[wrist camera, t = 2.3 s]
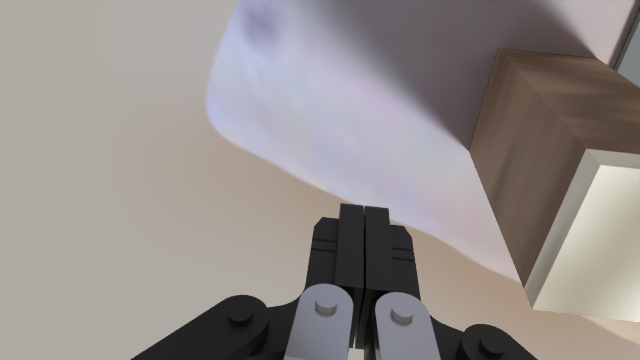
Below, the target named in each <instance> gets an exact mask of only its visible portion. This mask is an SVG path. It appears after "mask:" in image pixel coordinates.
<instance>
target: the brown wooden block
mask: <svg viewBox="0 0 640 360" xmlns="http://www.w3.org/2000/svg"><path fill="white" fill-rule="evenodd" d="M469 153H470V155H471V158H472V160H473V163H474V165H475V168H476V170H477V173H478V175H479V178H480V180H481V183H482V185H483V188H484V190H485V193H486V195H487V198H488V200H489V203H490V205H491V208H492V210H493V213H494V215H495V218H496V220H497V223H498V225H499V228H500V230H501V233H502V235H503V238H504V240H505V243H506V245H507V248H508V250H509V253H510V255H511V258H512V260H513V263H514V265H515V268H516V270H517V273H518V275H519V278H520V280H521V283H522V285H523V288H524V290H525V292H526V295H527V297H528V300H529V302H530V305H531V307H532V309H536V310H544V311H552V312H560V313H569V314H577V315H585V316H593V317H601V318H610V319H618V320H626V321H634V322H640V87H638V86H637V85H635V84H634V83H632V82H631V81H629V80H628V79H627V78H625V77H624V76H622V75H621V74H619V73H618V72H616V71H615V70H613V69H612V68H611V67H609V66H608V65H606V64H605V63H603V62H602V61H600V60H599V59H598V58H589V57H579V56H569V55H559V54H549V53H539V52H529V51H519V50H509V49H499V48H498V51H497V55H496V58H495V61H494V65H493V68H492V72H491V75H490V79H489V82H488V86H487V89H486V93H485V96H484V100H483V103H482V107H481V110H480V114H479V117H478V121H477V124H476V128H475V131H474V135H473V138H472V142H471V145H470V149H469Z"/></svg>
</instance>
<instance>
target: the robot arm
mask: <svg viewBox="0 0 640 360" xmlns="http://www.w3.org/2000/svg"><path fill="white" fill-rule="evenodd" d="M354 338H355V348H356V349H363V350H364V360H537V359H536V358H535V357H534V356H533V355H532V354H530V353H529V352H528V351H526V350H525V348H523V347H522V346H521V345H520V344H519V343H518V342H516V341H515V340H514V339H513V338H512V337H511V336H510V335H508V334H507V333H505V332H504V331H502V330H501V329H499V328H496V327H494V326H491V325H487V324H475V325H472V326H470V327H468V328H467V329H466V330H465V331H464V332H462V331H459V330H457V329H454V328H452V327H449V326H447V325H445V324H442V323H440V322H439V321H437V320H436V319H434V318H433V317H432V316H431V315H430V314H429V312H428V310H427V308H426V306H425V305H424V304H423V303H422V302H421V298H420V292H419V285H418V278H417V271H416V264H415V257H414V252H413V242H412V237H411V236H410V234H409V233H408V232H407V230H406V229H405V227H404V226H398V225H390V221H389V210H388V208H381V207H372V206H365V207H363V206H362V205H353V204H344V203H341V204H340V211H339V219H335V218H326V217H322V218H321V219H320V220H319V222H318V223H317V224H316V225H315V226H314V231H313V238H312V245H311V252H310V258H309V265H308V271H307V278H306V285H305V289H304V291H303V292H302V294H301V295H300V296H299V297H298V298H297V299H296V300H294V301H293V302H290V303H288V304H285V305H282V306H275V307H269V308H267V307H266V305H265V304H264V303H263V302H262V301H261V300H259V299H257V298H255V297H253V296H248V295H236V296H232V297H229V298H227V299H225V300H223V301H221V302H220V303H218V304H217V305H215V306H214V307H212V308H210V309H209V310H207V311H206V312H204V313H203V314H201V315H200V316H198V317H196V318H195V319H193V320H192V321H190V322H189V323H187V324H185V325H184V326H182V327H181V328H179V329H178V330H176V331H175V332H173V333H171V334H170V335H168V336H167V337H165V338H164V339H162V340H160V341H159V342H157V343H156V344H154V345H153V346H151V347H150V348H148V349H146V350H145V351H143V352H142V353H140V354H139V355H137V356H135V357H134V358H132V359H131V360H347V357H348V351H349V348H353V343H354Z"/></svg>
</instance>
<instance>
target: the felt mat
mask: <svg viewBox="0 0 640 360" xmlns="http://www.w3.org/2000/svg"><path fill="white" fill-rule="evenodd" d="M614 70H615V71H616V72H618V73H619V74H621V75H622V76H624V77H625V78H627V79H628V80H629V81H631V82H632V83H634V84H635V85H637V86H638V87H640V10H639V13H638V15H637V17H636V19H635V22H634V24H633V26H632V29H631V31H630V33H629V35H628V38H627V40H626V42H625V45H624V47H623V49H622V52H621V54H620V56H619V58H618V61H617V63H616V65H615V68H614Z"/></svg>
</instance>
